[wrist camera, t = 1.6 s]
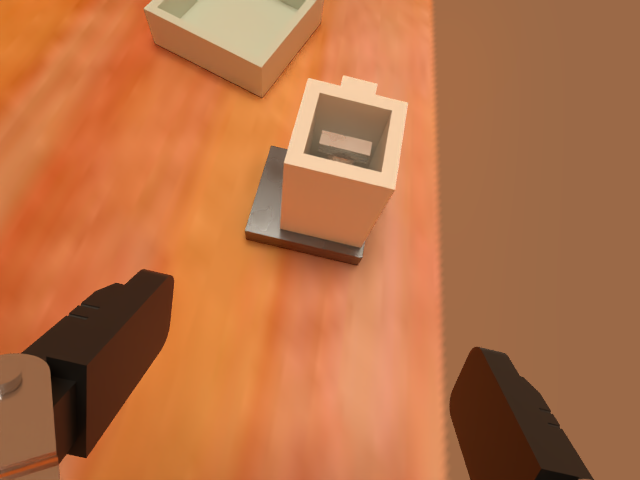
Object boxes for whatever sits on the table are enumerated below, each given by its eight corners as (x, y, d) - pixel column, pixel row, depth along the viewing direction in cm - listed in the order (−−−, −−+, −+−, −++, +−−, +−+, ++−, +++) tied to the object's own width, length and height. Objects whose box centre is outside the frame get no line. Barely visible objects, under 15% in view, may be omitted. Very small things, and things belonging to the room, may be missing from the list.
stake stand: (246, 239, 28) (237, 175, 20) (271, 157, 31) (271, 72, 23) (357, 265, 28) (391, 212, 20) (372, 181, 31) (407, 106, 23)
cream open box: (279, 228, 27) (283, 162, 19) (302, 147, 29) (312, 61, 22) (360, 247, 27) (395, 189, 20) (375, 164, 30) (410, 86, 22)
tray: (154, 43, 33) (143, 8, 30) (223, -25, 37) (219, -61, 34) (262, 97, 33) (261, 67, 30) (320, 22, 37) (325, -11, 34)
